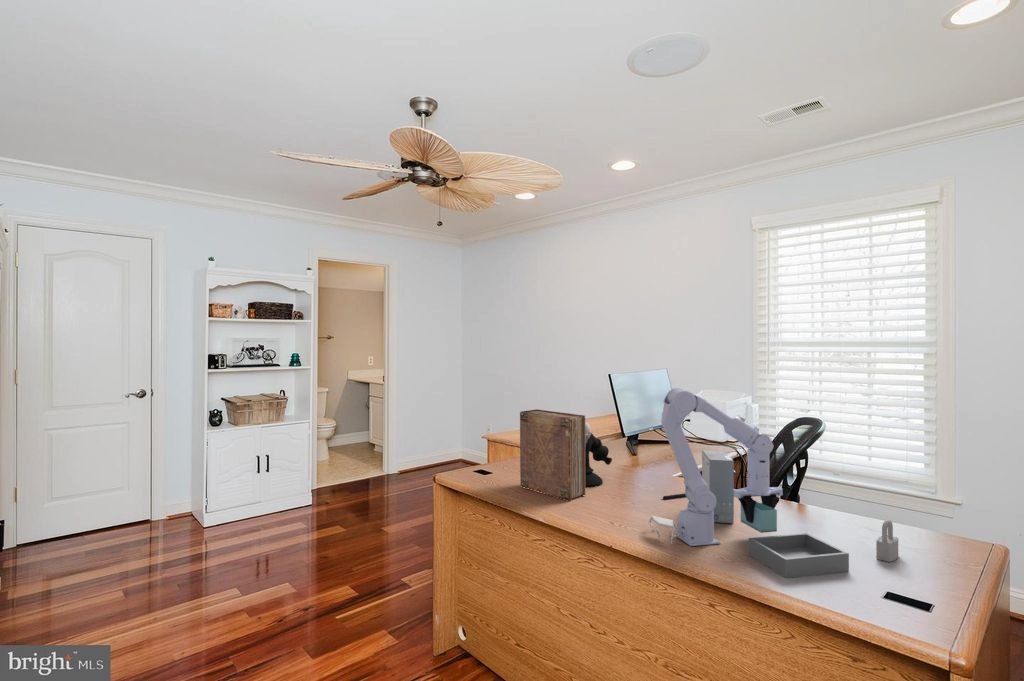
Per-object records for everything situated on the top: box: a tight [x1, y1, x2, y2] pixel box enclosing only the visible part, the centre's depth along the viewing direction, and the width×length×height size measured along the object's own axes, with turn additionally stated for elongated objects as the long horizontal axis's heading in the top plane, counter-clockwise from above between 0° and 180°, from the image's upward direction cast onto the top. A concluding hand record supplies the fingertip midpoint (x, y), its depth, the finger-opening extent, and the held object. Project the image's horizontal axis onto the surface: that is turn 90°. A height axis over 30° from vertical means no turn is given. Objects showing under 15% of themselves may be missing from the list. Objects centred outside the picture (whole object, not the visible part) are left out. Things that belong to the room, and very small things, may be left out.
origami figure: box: [648, 515, 678, 545], centre depth 153 cm, size 12×8×5 cm
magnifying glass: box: [662, 488, 736, 501], centre depth 194 cm, size 13×31×2 cm, turn 110°
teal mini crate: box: [740, 500, 778, 533], centre depth 149 cm, size 5×9×6 cm, turn 11°
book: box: [519, 409, 586, 502], centre depth 198 cm, size 25×9×30 cm, turn 44°
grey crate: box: [748, 532, 850, 579], centre depth 135 cm, size 18×14×4 cm
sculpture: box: [585, 421, 613, 488], centre depth 214 cm, size 15×24×25 cm, turn 130°
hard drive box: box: [701, 450, 735, 524], centre depth 171 cm, size 16×8×20 cm, turn 168°
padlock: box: [875, 519, 899, 563], centre depth 138 cm, size 7×4×10 cm, turn 127°
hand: (758, 521), depth 149 cm, fingers closed on teal mini crate, 5 cm apart
